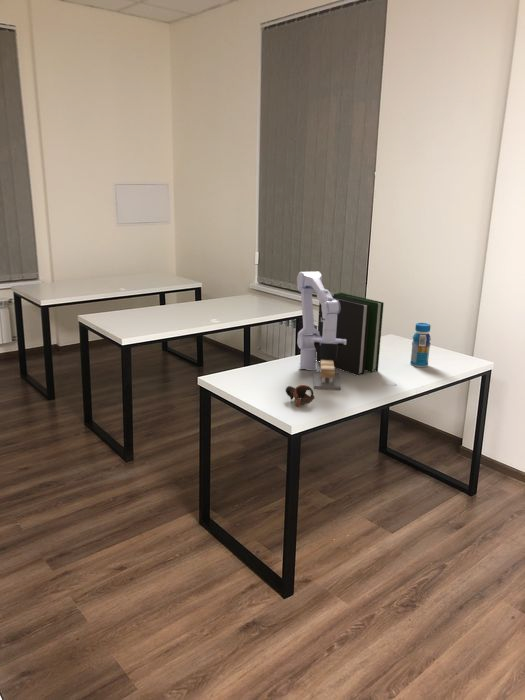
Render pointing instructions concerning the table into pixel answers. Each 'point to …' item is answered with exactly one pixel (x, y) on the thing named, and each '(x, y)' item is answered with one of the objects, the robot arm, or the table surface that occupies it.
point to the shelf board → (327, 368)
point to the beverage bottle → (421, 345)
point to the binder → (355, 334)
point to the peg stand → (326, 381)
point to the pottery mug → (300, 394)
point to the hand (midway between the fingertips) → (327, 360)
